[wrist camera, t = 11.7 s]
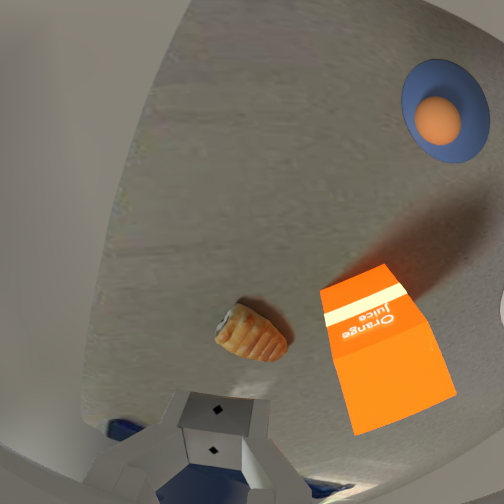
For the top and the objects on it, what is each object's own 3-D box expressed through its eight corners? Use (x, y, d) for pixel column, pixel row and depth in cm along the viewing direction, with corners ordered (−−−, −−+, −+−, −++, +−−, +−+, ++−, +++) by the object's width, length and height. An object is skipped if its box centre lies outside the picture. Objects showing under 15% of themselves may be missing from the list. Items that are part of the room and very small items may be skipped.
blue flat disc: (487, 74, 28) (488, 74, 28) (486, 170, 32) (487, 170, 32) (400, 49, 29) (401, 49, 29) (399, 154, 33) (400, 154, 33)
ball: (476, 117, 26) (444, 84, 25) (458, 157, 28) (424, 126, 26) (448, 116, 31) (417, 88, 30) (430, 152, 33) (398, 125, 32)
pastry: (298, 330, 41) (298, 346, 38) (271, 364, 44) (269, 381, 40) (235, 296, 41) (229, 310, 37) (212, 333, 43) (205, 349, 39)
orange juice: (399, 313, 39) (458, 420, 20) (338, 338, 41) (363, 459, 22) (384, 262, 37) (454, 358, 18) (318, 289, 39) (339, 406, 20)
